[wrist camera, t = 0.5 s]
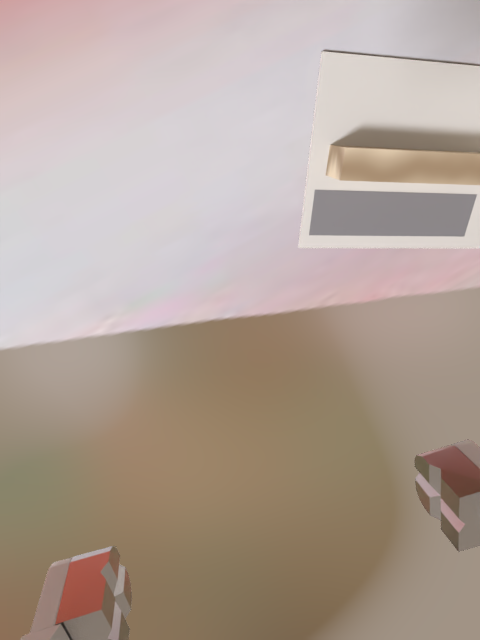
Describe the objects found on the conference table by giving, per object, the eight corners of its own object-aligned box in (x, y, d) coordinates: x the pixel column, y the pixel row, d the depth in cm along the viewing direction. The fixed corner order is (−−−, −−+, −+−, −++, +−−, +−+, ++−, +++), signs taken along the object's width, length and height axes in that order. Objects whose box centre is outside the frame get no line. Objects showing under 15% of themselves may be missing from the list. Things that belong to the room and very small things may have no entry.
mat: (321, 52, 38) (322, 51, 38) (643, 82, 45) (647, 81, 44) (297, 247, 46) (299, 248, 46) (571, 247, 53) (574, 248, 53)
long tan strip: (329, 144, 42) (345, 147, 38) (481, 152, 45) (509, 155, 41) (325, 175, 43) (340, 180, 39) (473, 180, 46) (499, 185, 42)
